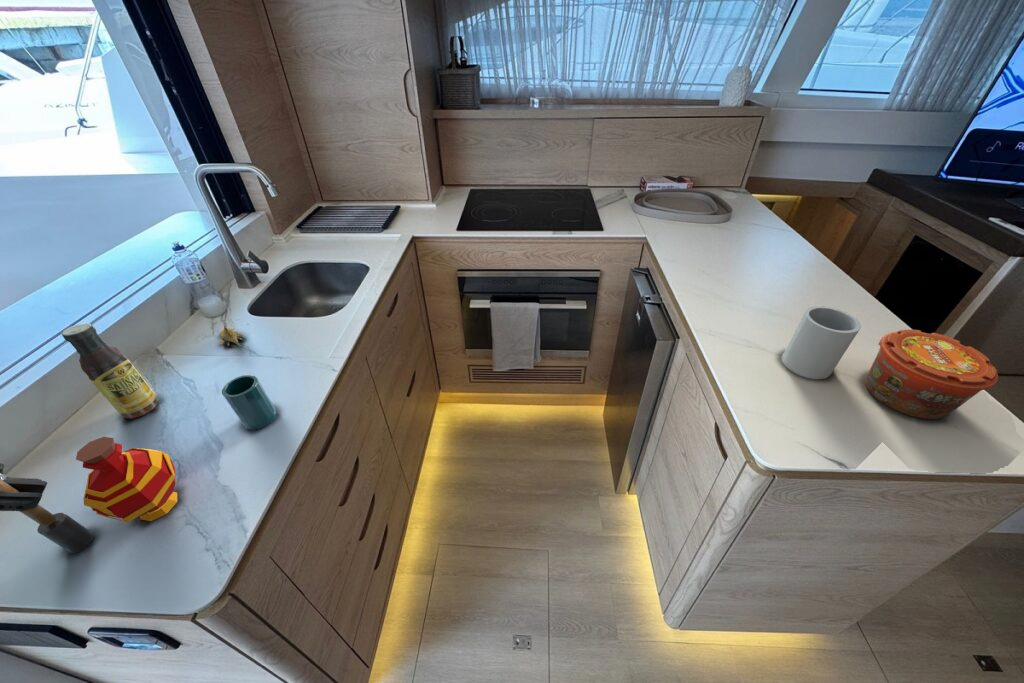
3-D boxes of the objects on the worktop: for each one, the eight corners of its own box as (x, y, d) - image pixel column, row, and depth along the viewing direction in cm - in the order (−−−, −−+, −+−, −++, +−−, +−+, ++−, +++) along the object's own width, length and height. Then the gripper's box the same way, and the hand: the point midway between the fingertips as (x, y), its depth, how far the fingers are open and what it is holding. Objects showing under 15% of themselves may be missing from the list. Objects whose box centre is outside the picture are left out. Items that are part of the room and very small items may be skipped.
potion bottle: (208, 495, 64) (153, 437, 55) (135, 550, 58) (59, 496, 48) (178, 466, 69) (123, 408, 60) (107, 514, 62) (32, 458, 53)
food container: (835, 371, 83) (862, 330, 76) (907, 364, 84) (939, 324, 77) (901, 431, 70) (939, 388, 64) (984, 423, 71) (1031, 380, 64)
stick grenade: (92, 546, 58) (-38, 460, 45) (66, 556, 57) (-75, 472, 44) (96, 528, 61) (-27, 442, 47) (71, 538, 59) (-62, 452, 46)
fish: (237, 330, 102) (227, 314, 99) (255, 347, 94) (245, 329, 91) (216, 339, 99) (205, 322, 96) (234, 357, 91) (222, 339, 88)
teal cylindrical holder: (278, 422, 76) (258, 389, 71) (244, 434, 74) (221, 401, 69) (275, 403, 80) (256, 370, 75) (243, 414, 78) (221, 382, 73)
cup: (777, 348, 89) (799, 303, 82) (823, 354, 87) (850, 309, 80) (787, 375, 82) (813, 329, 75) (837, 382, 80) (868, 335, 73)
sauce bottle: (138, 423, 77) (63, 344, 65) (115, 416, 79) (38, 338, 66) (169, 399, 82) (105, 322, 70) (147, 394, 84) (81, 317, 71)
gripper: (-253, 516, 35) (35, 517, 47) (-151, 416, 45) (67, 438, 57) (-273, 573, 36) (12, 560, 49) (-171, 464, 46) (47, 476, 58)
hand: (41, 494), depth 53 cm, fingers closed on stick grenade, 1 cm apart
